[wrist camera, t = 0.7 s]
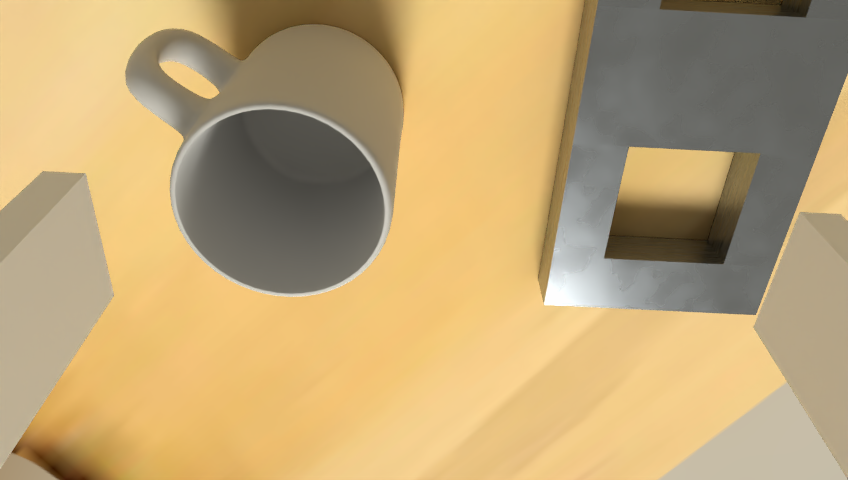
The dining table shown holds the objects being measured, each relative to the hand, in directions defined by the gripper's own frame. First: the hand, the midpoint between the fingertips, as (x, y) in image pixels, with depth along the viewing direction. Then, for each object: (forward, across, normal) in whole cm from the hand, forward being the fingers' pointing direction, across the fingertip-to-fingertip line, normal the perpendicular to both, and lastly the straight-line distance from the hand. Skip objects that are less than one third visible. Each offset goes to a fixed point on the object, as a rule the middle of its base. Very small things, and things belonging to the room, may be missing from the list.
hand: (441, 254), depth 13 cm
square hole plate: (+22, +13, -3) cm, 26 cm away
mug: (+23, -7, -5) cm, 24 cm away
